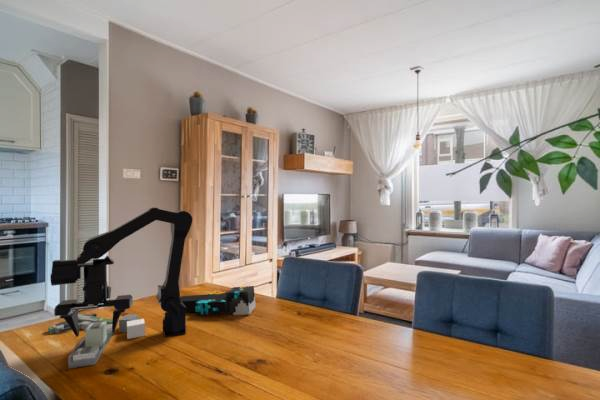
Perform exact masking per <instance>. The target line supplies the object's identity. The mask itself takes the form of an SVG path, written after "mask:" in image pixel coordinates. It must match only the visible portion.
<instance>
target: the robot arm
mask: <svg viewBox="0 0 600 400" xmlns="http://www.w3.org/2000/svg"><path fill="white" fill-rule="evenodd" d="M155 221H158V222H165V223H168V224H170V232H171V233H170V234H171V241H170V248H169V254H168V260H167V266H166V272H165V279H164V281H163V284H162V285H161V284H160V285H159V284H158V285H157V294H156V296H155V298H156V300H157V302H158V305H159V306H160V308H161V310H163V311H164V312H165V313H164V317H163V318H162V333H164V334H163V337H171V336H178V335H186V333H187V325H186V324H187V323H186V315H187V313H188V312H187V308H186V307H185V305H184V304H183V303H182V302H181V301H180V297H181V293H180V292H181V291H180V283H179V281H180V276H181V269H182V262H183V261H182V260H183V255H184V249H185V248H184V247H185V242H186V239H187V236H188V234H189V232H190V230H191V226H192V224H193V216H192V215H191V213H190V212H188V211H184V210H176V211H170V210H164V209H160V208H158V207H154V206H153V207H149V208H148V209H147V210H146V211H144V212H143V213H141V214H138V215H137V216H135V217H133V218H132V219H130V220H129V221H126V222H125V223H123V224H121V225H119V226H117V227H116V228H114V229H112V230H110V231H109V230H108V231H105V232H103V233H100V234H97V235H95V236H91V237H89V238H88V239H87V240H86V241H85V243H84V245H83V247H82V252H81V253H80V254H78V255H77V257H76V259H64V260H61V259H55V260H53V261H52V267H51V273H50V285H51V286H53V287H54V286H60V285H61V286H62V285H69V284H70V285H71V284H76V283H77V281H79V280H81V279H82V268H83V287H82V292H83V300H82V302H80V301H79V302H78V299H76V298H75V299H67V300H66V299H65V300H62V301H60V302H59V303H58V304H57V305H55V306H54V310H53V311H54V312H53V313H54V315H53V316H55V317H59V318H60V319H64V321H66V322H67V323H68V324H69V326H70V327H71V329H72V330H71V331H72V332H73V334H74V336H75V337H76V338H78V337H79V336H80V328H79V323H78V314H79V310H88V309H96V308H97V309H98V308H99V309H100V308H107V307H108V308H110V307H114V309H113V312H112V319H113V322H112V332H113V333H115V331H116V329H117V326H118V324H119V320H120V317H121V315H122V313H125V312H126V310H129V309H130V308H131V307H132V305H133V303H134V302H133V301H134V300H133V295H132V294H125V295H124V294H121V295H117V297H116V298H115V299H110V298H111V294H112V287H111V286H108V285H109V284H108V281H107V280H108V278H107V277H108V275H107V274H108V273H107V271H108V270H107V269H108V265H114V263H115V261H114V259H111V258H110V256H109V255H106V256H105V257H104V258H102V257H103V256H104V255H105V254H107V253H108V252H109V251H110V250H112V249H113V248H114V247H116V245H117V244H119V242H121V241H123V240H125V239H126V238H128V237H129V236H131V235H132V234H134V233H136V232H138V231H139V230H141V229H143V228H145V227H147V226H148V225H151V224H152V223H153V222H155ZM91 260H92V262H90V261H91Z"/></svg>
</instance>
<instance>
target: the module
mask: <svg viewBox="0 0 600 400" xmlns="http://www.w3.org/2000/svg"><path fill="white" fill-rule="evenodd" d="M84 336H85V347H95V346H102V345H103V343H104V341H105V340H106V338H107V321H105V322H94V323H91V324H90V325H89V326H88V328H87V329H86V330H85V329H84Z"/></svg>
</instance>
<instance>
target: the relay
mask: <svg viewBox="0 0 600 400" xmlns="http://www.w3.org/2000/svg"><path fill="white" fill-rule="evenodd" d="M145 336H146V323H145V318H140V319H139V318H138V320H132V321H127V332H126V337H127V340H130V339H135V338H139V337H145Z"/></svg>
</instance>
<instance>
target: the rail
mask: <svg viewBox="0 0 600 400" xmlns="http://www.w3.org/2000/svg"><path fill="white" fill-rule="evenodd" d="M114 333H115V332H114ZM114 333H113V332H112V324H107V338H106V340H105V341H104V343H103V345H102V346H95V347H85V335H84V336H83V337H82V339H81V340H80V341H79V342H78V344H77V345H76V346H75V347H74V348H73V350H72V351H71V353H70V354H69V355H68V357H67V358H68V359H67V364H68V367H67V368H68V369H74V368H80V367H88V366H95V365H96V364H97V362H98V361H99V358H100V357H101V356H102V354H103V352H104V350H105V349H106V348H107V345H108V344H109V342H110V340H111V338H112V337H113V335H114Z"/></svg>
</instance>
